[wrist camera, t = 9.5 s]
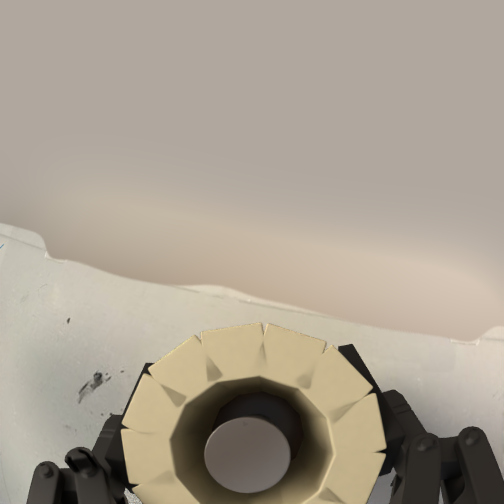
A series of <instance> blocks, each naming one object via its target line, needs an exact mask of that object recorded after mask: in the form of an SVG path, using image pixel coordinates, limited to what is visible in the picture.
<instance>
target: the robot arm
mask: <svg viewBox="0 0 504 504" xmlns="http://www.w3.org/2000/svg"><path fill="white" fill-rule="evenodd" d="M338 351H339V352H340V353H341V354H342V355H343V356H344V357H345V358H346V359H347V360H348V361H349V363H350V364H351V365H352V366H353V367H354V368H355V369H356V370H357V371H358V372H359V373H360V374H361V375H362V376H363V377H364V378H365V379H366V380H367V381H368V382H369V383H370V384H371V385H372V386H373V389H372V390H371V391H370V392H369V393H368V394H372V393H375V394H376V396H377V400H378V405H379V409H380V414H381V419H382V424H383V429H384V434H385V440H386V445H387V448H386V449H384V450H382V451H379V452H381V453H385V454H386V457H385V460H384V463H383V465H382V468H381V470H380V473H379V475H378V477H379V476H382V475H385V474H388V473H390V472H391V470H392V468H393V467H394V469H395V471H396V475H395V477H394V479H393V481H392V483H391V485H390V486H393V488H392V493H391V498H390V503H389V504H438V503H439V492H440V487H441V492H442V496H443V502H444V504H504V480H503V477H502V475H501V472H500V469H499V466H498V464H497V461H496V459H495V456H494V454H493V451H492V449H491V446H490V444H489V442H488V439H487V437H486V435H485V433H484V432H483V430H481V429H480V428H478V427H474V426H472V427H467V428H465V429H463V430H462V431H461V432H460V433H459V435H458V436H455V437H448V438H438V437H437V436H436V435H434V434H432V433H427V432H426V431H425V429H424V428H423V426H422V424H421V423H420V421H419V420H418V418H417V417H416V415H415V414H414V412H413V410H411V407H410V406H409V404H407V401H406V400H405V398H404V397H403V395H402V394H400V393H399V392H397V391H396V390H390V391H387V392H383V393H382V392H381V390H380V389H379V387H378V385H377V384H376V382H375V380H374V379H373V377H372V375H371V374H370V372H369V370H368V369H367V367H366V365H365V364H364V362H363V360H362V359H361V357H360V356H359V354H358V352H357V351H356V349H355V347H354V346H353V344H349V345H344V346H338ZM153 364H154V363H145V366H144V368H143V370H142V372H141V374H140V376H139V379H138V381H137V383H136V385H135V387H134V390H133V392H132V394H131V396H130V399H129V401H128V403H127V405H126V408H125V410H124V412H123V414H122V415H114V414H113V415H112V416H111V417H110V418H109V419H107V420H106V422H105V424H104V426H103V428H102V431H101V432H100V434H99V437H98V439H97V441H96V443H95V445H94V447H93V450H92V452H91V451H90V450H89V449H88V448H85V447H77V448H74V449H72V450H70V451H69V452H68V453H67V455H66V456H65V462H66V463H67V465H68V466H69V467H70V468H59V467H58V466H57V465H56V464H55V463H53V462H50V461H45V462H42V463H40V464H39V465H38V466H37V467H36V468H35V471H34V474H33V478H32V482H31V486H30V490H29V494H28V499H27V503H26V504H129V503H128V500H127V498H126V496H125V494H124V491H125V488H127V489H128V490H129V492H130V493H133V494H135V493H134V492H133V491H132V488H134V487H136V486H138V485H137V484H130V483H129V479H128V474H127V468H126V463H125V456H124V450H123V443H122V435H121V430H122V429H129V428H128V427H126V426H124V425H123V424H122V421H123V419H124V416H125V414H126V412H127V409H128V407H129V405H130V402H131V400H132V398H133V396H134V393H135V391H136V389H137V387H138V384H139V382H140V380H141V378H142V375H143V374H148V375H151V374H150V372H149V371H148V368H149V367H150V366H151V365H153ZM151 376H152V375H151Z"/></svg>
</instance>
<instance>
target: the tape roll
mask: <svg viewBox="0 0 504 504" xmlns="http://www.w3.org/2000/svg"><path fill="white" fill-rule="evenodd" d="M200 335H201V340H200V339H199V338H198V337H197V336H196V335H193V336H192V337H190V338H189V339H187V340H186V341H185V342H183V343H182V344H181V345H179V346H178V347H177V348H175V349H174V350H172V351H171V352H170V353H168V354H167V355H165V356H164V357H163V358H161V359H160V360H158V361H157V362H156V363H154V364H153V365H151V366H150V367H149V368H148V371H149V372H150V374H151V375H152V376H151V375H148V374H143V375H142V378H141V380H140V382H139V384H138V387H137V389H136V391H135V393H134V396H133V398H132V400H131V402H130V405H129V407H128V409H127V412H126V414H125V416H124V419H123V421H122V424H123V425H124V426H126V427H128V428H129V429H122V430H121V435H122V443H123V450H124V456H125V463H126V468H127V474H128V479H129V483H130V484H137V485H138V486H136V487H134V488H132V491H133V492H134V493H135V494H136V496H137V497H138V498H139V499H140V501H141V502H142V503H143V504H366V503H367V501H368V499H369V497H370V494H371V492H372V490H373V488H374V485H375V483H376V480H377V478H378V475H379V473H380V470H381V468H382V465H383V463H384V460H385V457H386V454H385V453H381V452H379V451H382V450H384V449H386V448H387V445H386V440H385V434H384V429H383V424H382V419H381V414H380V409H379V405H378V400H377V396H376V394H375V393H372V394H368V393H369V392H370V391H371V390H372V389H373V386H372V385H371V384H370V383H369V382H368V381H367V380H366V379H365V378H364V377H363V376H362V375H361V374H360V373H359V372H358V371H357V370H356V369H355V368H354V367H353V366H352V365H351V364H350V363H349V361H348V360H347V359H346V358H345V357H344V356H343V355H342V354H341V353H340V352H339V351H338V350H337V349H336V348H335V347H334V346H333V345H331V346H330V347H329V348H328V349H327V350H326V351H325V352H324V350H325V347H326V341H323V340H320V339H317V338H313V337H310V336H307V335H304V334H301V333H297V332H294V331H291V330H288V329H285V328H282V327H279V326H276V325H273V324H267V326H266V328H265V331H263V326H262V323H255V324H248V325H242V326H236V327H229V328H223V329H216V330H209V331H202V332H201V333H200ZM260 391H264V392H267V393H270V394H273V395H276V396H279V397H282V398H285V399H286V400H287V401H288V403H289V404H290V405H291V406H292V407H293V408H294V409H295V410H296V411H297V412H298V413H299V414H300V417H301V422H302V427H303V432H304V439H303V441H302V444H301V446H300V449H299V451H298V454H297V456H296V458H294V459H293V460H292V461H291V462H290V465H289V468H288V470H287V472H286V474H285V475H284V477H283V478H282V479H281V480H280V481H279V482H278V483H277V484H275V485H274V486H272V487H271V488H269V489H266V490H264V491H261V492H256V493H241V492H236V491H232V490H230V489H227V488H225V487H224V486H222V485H221V484H219V483H218V482H217V481H216V480H215V479H214V478H213V477H212V476H211V474H210V473H209V471H208V469H207V467H206V464H205V458H204V450H205V446H206V443H207V440H208V438H209V437H210V435H211V434H212V426H213V424H214V422H215V419H216V417H217V415H218V412H219V410H220V408H221V407H223V406H224V405H225V404H227V403H228V402H230V401H231V400H232V399H234V398H235V397H236V396H238V395H240V394H247V393H253V392H260Z"/></svg>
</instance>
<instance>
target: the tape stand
mask: <svg viewBox="0 0 504 504" xmlns="http://www.w3.org/2000/svg"><path fill="white" fill-rule="evenodd" d="M303 439H304V432H303V427H302V422H301V417H300V414H299V413H298V412H297V411H296V410H295V409H294V408H293V407H292V406H291V405H290V404H289V403H288V401H287V400H286V399H285V398H282V397H279V396H276V395H273V394H270V393H267V392H264V391H260V392H253V393H247V394H240V395H238V396H236V397H235V398H234V399H232V400H231V401H230V402H228V403H227V404H225V405H224V406H223V407H221V408H220V410H219V412H218V415H217V417H216V419H215V422H214V424H213V426H212V434H211V435H210V437H209V438H208V440H207V443H206V446H205V450H204V458H205V464H206V467H207V469H208V471H209V473H210V474H211V476H212V477H213V478H214V479H215V480H216V481H217V482H218V483H219V484H221V485H222V486H224V487H225V488H227V489H230V490H232V491H236V492H241V493H256V492H261V491H264V490H266V489H269V488H271V487H272V486H274V485H275V484H277V483H278V482H279V481H280V480H281V479H282V478H283V477H284V475H285V474H286V472H287V470H288V468H289V465H290V462H291V461H292V460H293V459H294V458H296V456H297V454H298V451H299V449H300V446H301V444H302V441H303Z"/></svg>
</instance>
